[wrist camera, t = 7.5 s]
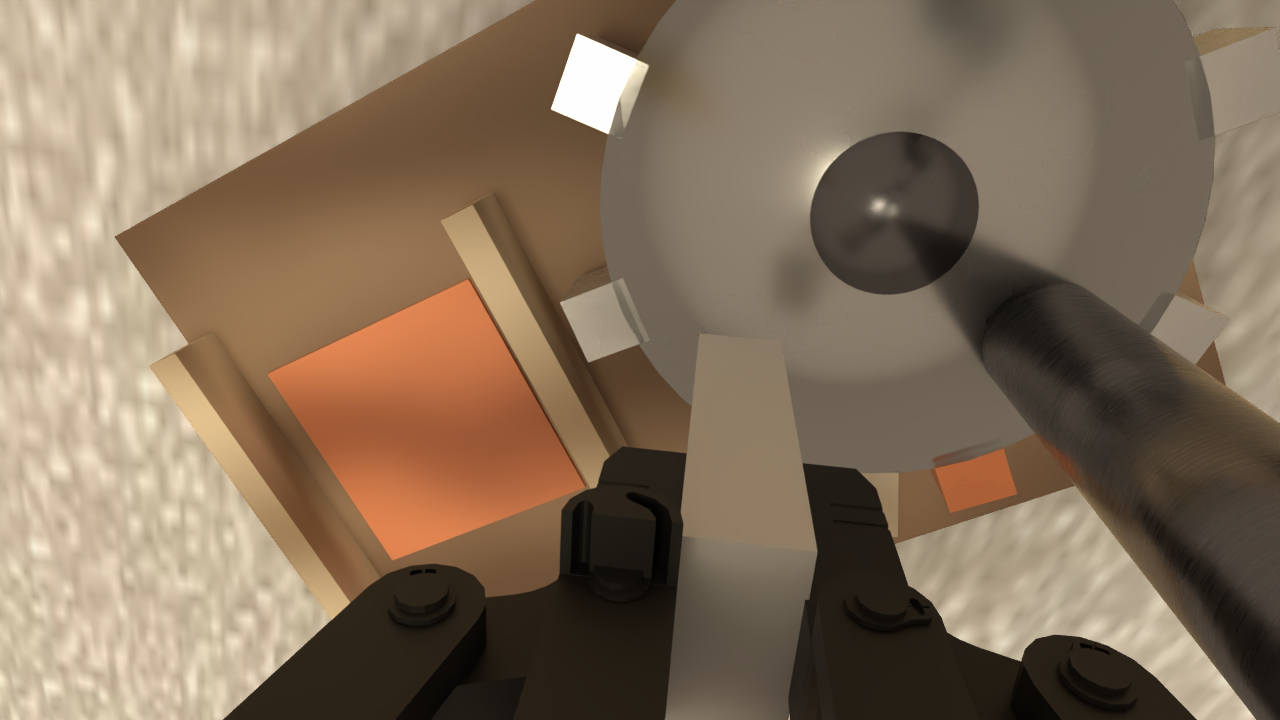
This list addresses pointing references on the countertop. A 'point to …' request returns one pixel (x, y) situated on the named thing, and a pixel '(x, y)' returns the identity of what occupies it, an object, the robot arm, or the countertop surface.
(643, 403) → the brown wooden board
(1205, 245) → the countertop surface
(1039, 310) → the sprocket
